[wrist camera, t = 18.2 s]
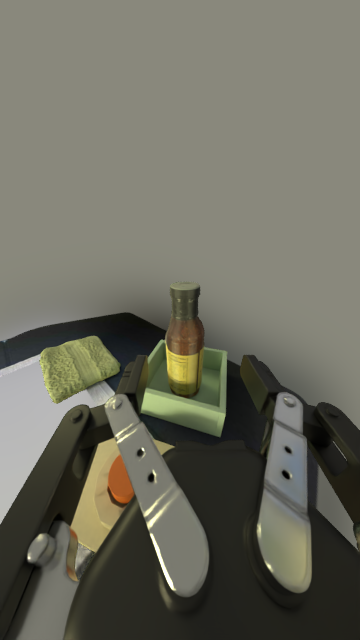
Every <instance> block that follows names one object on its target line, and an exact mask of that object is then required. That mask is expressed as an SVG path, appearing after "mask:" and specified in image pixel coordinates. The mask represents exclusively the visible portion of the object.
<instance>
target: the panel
mask: <svg viewBox="0 0 360 640" xmlns="http://www.w3.org/2000/svg"><path fill="white" fill-rule="evenodd" d="M153 441H154V443H155V445H156V446H157V448H158V450H159V452H160V454H161V455H162V454H163V453H164V452H166V451H167V450H169V449H171V448H173V447H174V446H171V445H169V444H166V443H163V442H160V441H157V440H154V439H153ZM119 454H120V452H119V449H118V447H117V444H116V441H115V438H113V439H110V440H107V441H105V442H102V443H99V445H98V447H97V450H96V453H95V456H94V459H93V462H92V465H91V468H90V471H89V474H88V477H87V480H86V483H85V486H84V489H83V492H82V495H81V498H80V501H79V504H78V507H77V510H76V513H75V516H74V519H73V522H72V525H71V528H72V529H73V530H74V531H75V532H76V534H77V537H78V543H80V544H82V545H83V546H85V547H87V548H88V549H90V550H91V551H93V552H95V553H96V551H97V550H98V548H99V547H100V545H101V544H102V542H103V541H104V539H105V538H106V536H107V535H108V533H109V532H110V530H111V529H112V527H113V526H114V524H115V523H116V521H117V520H118V518H119V517H120V515H121V514H122V512H123V511H124V509H125V508H126V506H127V504H128V503H125V504H123V503H119V502H118V501H116V500H115V498H114V497H113V495H112V492H111V490H110V488H109V485H108V475H109V471H110V468H111V465H112V463H113V462H114V460H115V459H116V458H117V456H118V455H119Z"/></svg>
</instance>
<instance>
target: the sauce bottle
mask: <svg viewBox="0 0 360 640" xmlns="http://www.w3.org/2000/svg"><path fill="white" fill-rule="evenodd" d="M170 295H171V298H172V316H171V320H170V323H169V326H168V330H167V332H166V336H165V342H166V355H167V370H168V383H169V386H170V389H171V391H172V393H173V394H174V395H176V396H179V397H183V398H191V397H193V396H195V395H196V394H197V393H198V392H199V390H200V385H201V382H202V367H203V353H204V328H203V325H202V322H201V320H200V319H199V317H198V316H197V315H198V297H199V295H200V285H199V284H197V283H194V282H176V283H173V284H172V285H171V286H170Z"/></svg>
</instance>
